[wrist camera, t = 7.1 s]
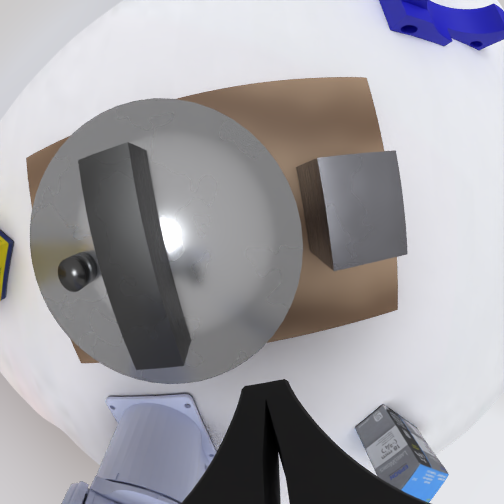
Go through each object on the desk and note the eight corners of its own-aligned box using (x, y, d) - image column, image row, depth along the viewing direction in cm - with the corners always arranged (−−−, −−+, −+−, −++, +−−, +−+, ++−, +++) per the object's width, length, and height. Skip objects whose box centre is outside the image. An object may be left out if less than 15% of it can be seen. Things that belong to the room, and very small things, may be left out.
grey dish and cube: (372, 290, 17) (407, 317, 13) (112, 337, 17) (85, 372, 13) (346, 105, 15) (378, 81, 11) (68, 165, 15) (26, 161, 10)
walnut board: (391, 304, 19) (397, 309, 18) (86, 356, 19) (81, 363, 18) (360, 82, 16) (366, 77, 15) (34, 158, 15) (26, 157, 14)
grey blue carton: (418, 426, 23) (467, 499, 11) (392, 448, 23) (432, 523, 11) (383, 402, 21) (443, 498, 9) (351, 428, 22) (396, 528, 9)
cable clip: (389, 30, 15) (427, -4, 9) (374, -7, 14) (404, -43, 8) (482, 63, 15) (520, 48, 9) (468, 27, 14) (502, 9, 8)
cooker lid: (314, 351, 13) (330, 386, 10) (86, 378, 13) (66, 408, 10) (268, 78, 10) (276, 48, 7) (23, 156, 10) (-12, 153, 7)
